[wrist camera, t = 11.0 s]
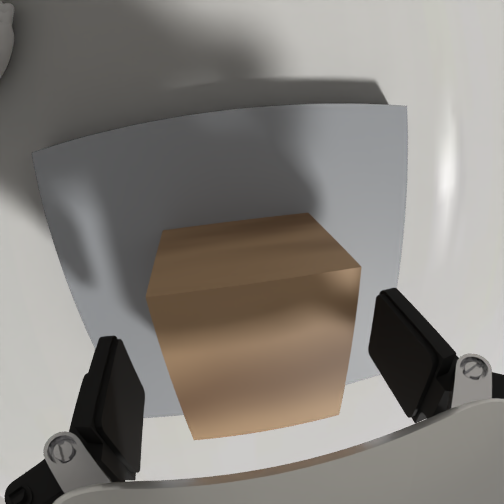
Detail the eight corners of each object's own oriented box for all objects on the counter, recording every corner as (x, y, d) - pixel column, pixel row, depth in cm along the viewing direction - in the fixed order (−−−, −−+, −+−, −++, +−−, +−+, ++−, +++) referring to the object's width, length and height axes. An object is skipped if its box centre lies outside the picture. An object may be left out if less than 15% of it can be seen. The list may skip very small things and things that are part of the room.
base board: (46, 148, 12) (31, 152, 10) (389, 104, 13) (406, 105, 12) (134, 401, 18) (132, 418, 17) (370, 360, 20) (379, 374, 19)
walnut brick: (162, 230, 13) (145, 297, 8) (308, 212, 13) (361, 266, 9) (191, 359, 16) (194, 440, 11) (306, 341, 16) (338, 414, 12)
